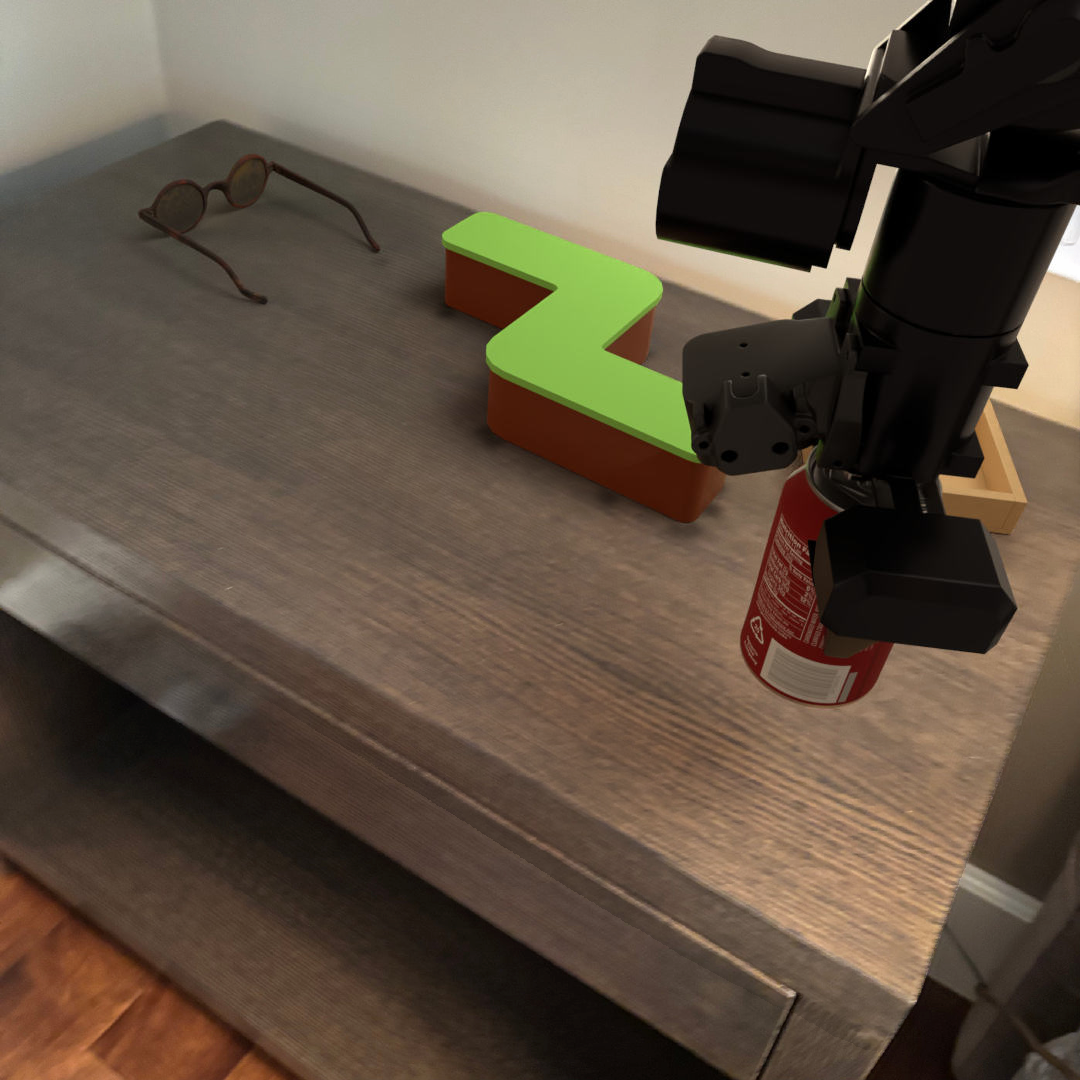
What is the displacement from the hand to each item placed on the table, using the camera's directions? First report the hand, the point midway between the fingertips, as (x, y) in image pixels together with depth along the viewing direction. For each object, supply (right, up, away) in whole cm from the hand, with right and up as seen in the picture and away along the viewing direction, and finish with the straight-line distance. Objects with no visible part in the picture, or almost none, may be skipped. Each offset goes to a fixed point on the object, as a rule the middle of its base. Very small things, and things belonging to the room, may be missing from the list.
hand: (826, 595), depth 47 cm
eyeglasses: (-37, +28, +43) cm, 63 cm away
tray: (+13, +8, +27) cm, 31 cm away
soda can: (0, -4, +3) cm, 5 cm away
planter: (-11, +14, +31) cm, 36 cm away
